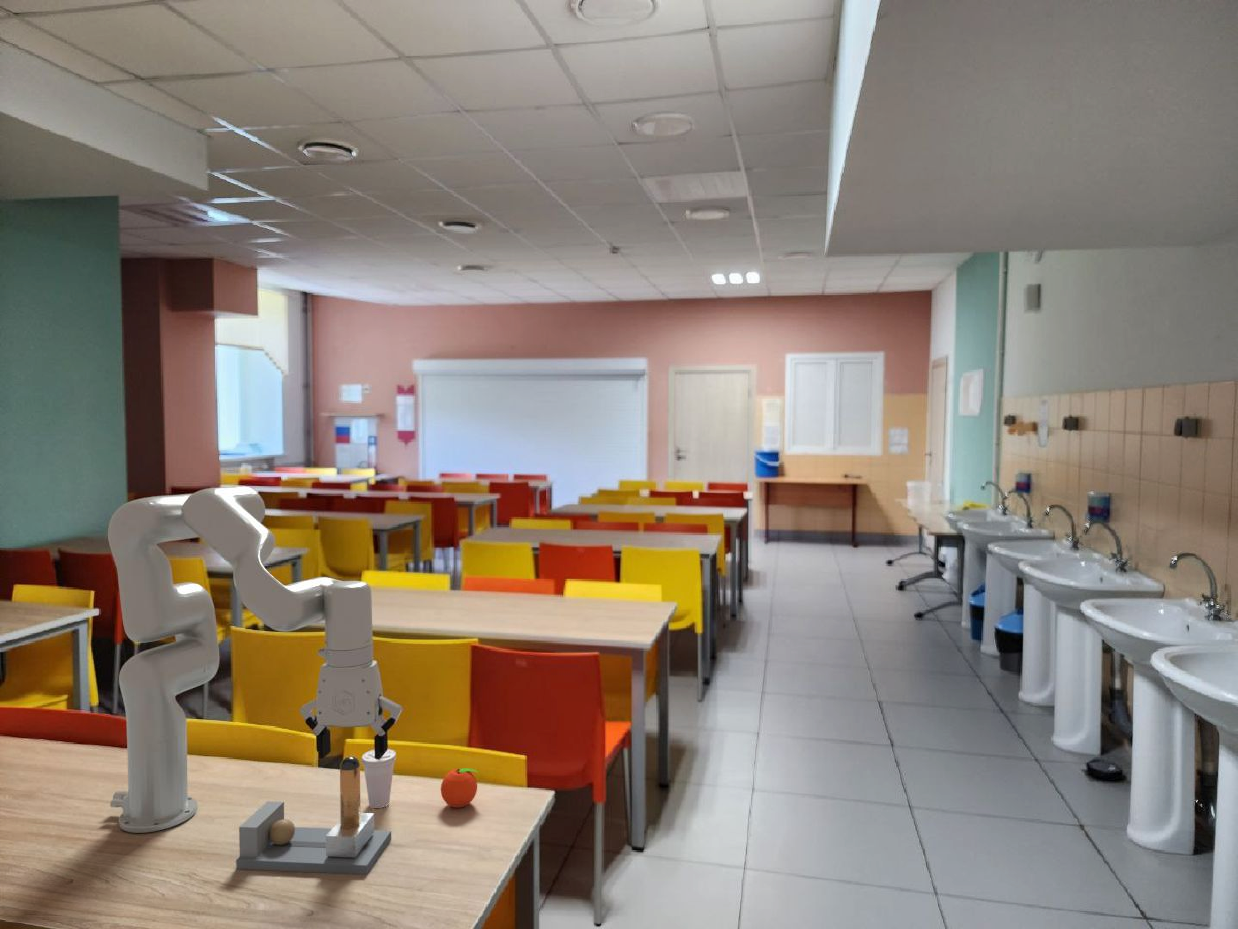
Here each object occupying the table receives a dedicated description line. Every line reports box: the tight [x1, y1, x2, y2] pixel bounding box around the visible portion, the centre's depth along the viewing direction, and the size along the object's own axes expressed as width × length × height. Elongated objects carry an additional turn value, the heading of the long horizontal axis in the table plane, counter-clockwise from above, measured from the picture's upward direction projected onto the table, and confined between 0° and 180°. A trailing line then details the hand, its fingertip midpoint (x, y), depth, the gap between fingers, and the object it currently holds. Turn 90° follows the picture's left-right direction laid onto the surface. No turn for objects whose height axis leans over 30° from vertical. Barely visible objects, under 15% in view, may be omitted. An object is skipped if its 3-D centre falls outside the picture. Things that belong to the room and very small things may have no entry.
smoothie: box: [360, 748, 397, 809], centre depth 150 cm, size 6×6×14 cm
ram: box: [326, 756, 375, 857], centre depth 131 cm, size 5×8×15 cm, turn 176°
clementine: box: [440, 767, 483, 808], centre depth 150 cm, size 8×7×7 cm
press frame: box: [235, 800, 392, 875], centre depth 132 cm, size 22×11×6 cm, turn 86°
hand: (352, 756), depth 131 cm, fingers open, 9 cm apart
